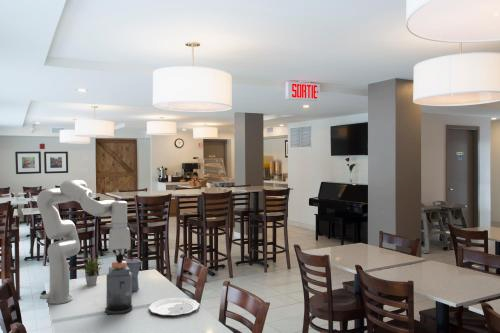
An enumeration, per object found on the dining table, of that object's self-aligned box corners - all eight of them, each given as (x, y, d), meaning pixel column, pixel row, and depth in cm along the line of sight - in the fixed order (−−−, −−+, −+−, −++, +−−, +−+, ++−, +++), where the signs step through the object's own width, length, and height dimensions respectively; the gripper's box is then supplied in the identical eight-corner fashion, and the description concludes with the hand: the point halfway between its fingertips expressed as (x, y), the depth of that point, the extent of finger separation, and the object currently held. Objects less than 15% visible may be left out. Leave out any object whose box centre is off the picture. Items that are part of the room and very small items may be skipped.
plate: (156, 322, 194) (156, 318, 194) (143, 305, 217) (143, 301, 217) (206, 313, 206) (206, 309, 206) (189, 298, 228) (189, 294, 228)
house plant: (98, 289, 242) (98, 261, 241) (74, 289, 242) (74, 261, 241) (107, 282, 256) (107, 255, 256) (84, 282, 256) (85, 255, 256)
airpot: (109, 319, 197) (109, 274, 197) (102, 306, 213) (102, 265, 213) (137, 314, 203) (137, 271, 203) (128, 302, 220) (128, 262, 219)
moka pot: (138, 294, 234) (138, 258, 233) (113, 292, 237) (113, 257, 237) (146, 289, 243) (146, 254, 243) (121, 287, 246) (122, 253, 246)
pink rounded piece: (113, 276, 204) (113, 264, 204) (110, 273, 210) (110, 261, 210) (127, 274, 207) (128, 263, 207) (124, 271, 213) (124, 260, 213)
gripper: (105, 228, 201) (105, 266, 201) (136, 225, 208) (136, 262, 209) (102, 226, 208) (102, 262, 208) (132, 223, 215) (132, 259, 215)
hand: (119, 262), depth 208 cm, fingers closed
